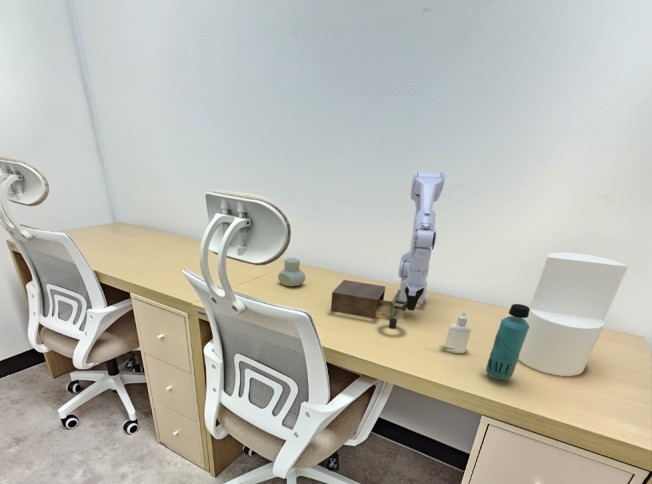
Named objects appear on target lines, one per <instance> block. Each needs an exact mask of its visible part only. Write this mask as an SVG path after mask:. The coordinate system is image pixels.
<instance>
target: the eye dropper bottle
mask: <svg viewBox="0 0 652 484" xmlns="http://www.w3.org/2000/svg"><path fill="white" fill-rule="evenodd" d="M467 322H468V316H466V311H463V312H462V313H461V314H460V315H458V316H457V320H456V322H454V323H451V324H450V325H449V326H448V331H447V335H446V339H445V342H444V346H445V347H446V348H449V349H452V351H450V350H447V352H448V353H452V354H465V352H466V351H467V346H468V343H469V339H470V335H471V331H472V330H471V329H472V328H471V326H469V325H467Z"/></svg>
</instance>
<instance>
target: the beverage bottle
mask: <svg viewBox="0 0 652 484" xmlns="http://www.w3.org/2000/svg"><path fill="white" fill-rule="evenodd" d="M529 310H530V306H527V305H524V304H522V303H521V304H520V303H513V304H511V306H510V309H509V310H508V314H509V316H505V317H504V318H502V319H500V323H499V327H498V329H497V332H496V334H495V338H494V341H493V344H492V345H493V346H492V348H491V351H490V353H489V356H488V359H487V363H486V367H485V371H486V373H487V374H488V375H489V376H490V377H492V378H495V379H499V380H508V379H511V378H512V377H513V375H514V372H515V370H516V367H517V364H518V361H519V359H518V357H520V356H519V354H520V351H521V348H522V346H523V343H524V340H525V337H526V334H527V332H528V329H529V324H528V323H527V322H526V318H527V317H528V315H529Z"/></svg>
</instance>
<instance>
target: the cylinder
mask: <svg viewBox="0 0 652 484" xmlns="http://www.w3.org/2000/svg"><path fill="white" fill-rule="evenodd" d="M628 268H629V266H628V265H626V264H624V263H623V262H619V261H618V260H614V259H612V258H611V259H610V258H606V257H604V256H603V257H602V256H597V255H592V254H586V253H580V252H579V253H578V252H566V251H565V252H563V251H562V252H561V251H559V252H551V253H549V254H547V256H546V259H545V261H544V265H543V267H542V271H541V273H540V276H539V279H538V281H537V285H536V288H535V291H534V293H533V296H532V299H531V302H530V305H529V308H530V310H529V315H528V317H527V318H525V320H526V322H527V323H528V324H529V329H528V332H527V334H526V337H525V340H524V343H523V346H522V348H521V351H520V354H519V356H520V357H518V361H519V362H521V363H523V364H524V365H526V366H528V367H530V368H532V369H534V370H537V371H539V372H541V373H546V374H550V375H555V376H560V377H572V376H578V375H580V374H582V373H583V372H584V370H585V368H586V366H587V364H588V361H589V359H590V357H591V355H592V352H593V350H594V348H595V346H596V344H597V341H598V339H599V338H600V335H601V333H602V332H603V331H602V330H603V328H604V327H605V319H606V316H607V315H608V312H609V310H610V307H611V305H612V303H613V301H614V299H615V297H616V294H617V292H618V289H619V288H620V286H621V284H622V281H623V279H624V276H625V275H626V272H627V270H628Z"/></svg>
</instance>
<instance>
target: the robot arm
mask: <svg viewBox="0 0 652 484" xmlns="http://www.w3.org/2000/svg"><path fill="white" fill-rule="evenodd" d="M445 180H446V175H445V173H444V171H441V172H436V171H435V172H434V171H418V170H415V171H414V172H413V175H412V180H411V188H410V199H411V200H412V201H413V202H414V203H415V213H414V220H413V228H412V233H411V240H410V248H409V250H408V251H407V252H405V253H403V254H402V255H401V257H400V261H399V266H398V273H397V274H398V277H399V278H400V285H399V289H400V290H401V292H400V298H399V301H402V302H405V301H407V309H406V311H413V312H414V311H415V309H416V307H417V304H418V305H423V304H424V303H425V302H426V293H427V288H428V281H427V278H428V275H429V268H430V261H431V256H432V251H433V250H434V248H435V245H436V242H437V241H436V240H437V228H436V212H435V210H433V206H434V202H437V201H439V198H440V196H441V195H442V191H443V189H444V185H445Z"/></svg>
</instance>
